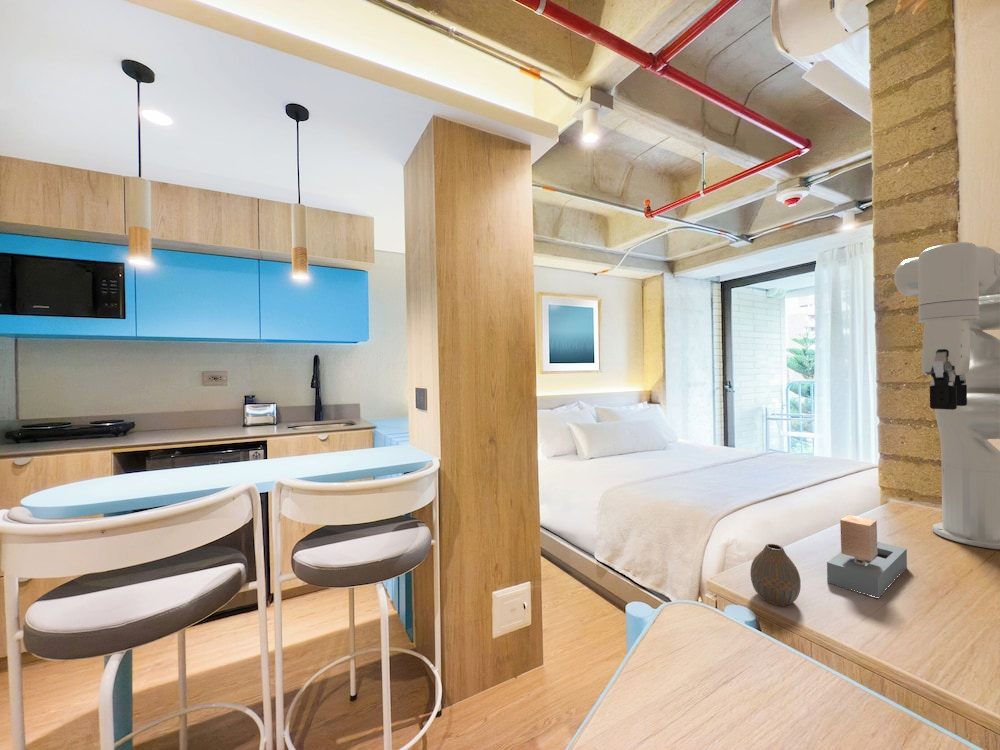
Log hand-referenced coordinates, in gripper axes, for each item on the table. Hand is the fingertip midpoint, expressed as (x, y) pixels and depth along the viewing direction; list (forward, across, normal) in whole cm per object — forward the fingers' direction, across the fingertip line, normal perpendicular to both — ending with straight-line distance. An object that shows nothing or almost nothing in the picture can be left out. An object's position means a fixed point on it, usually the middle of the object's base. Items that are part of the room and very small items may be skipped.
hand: (948, 407), depth 76 cm
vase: (+31, +35, -15) cm, 49 cm away
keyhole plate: (+30, +13, -8) cm, 34 cm away
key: (+29, +18, -8) cm, 35 cm away
